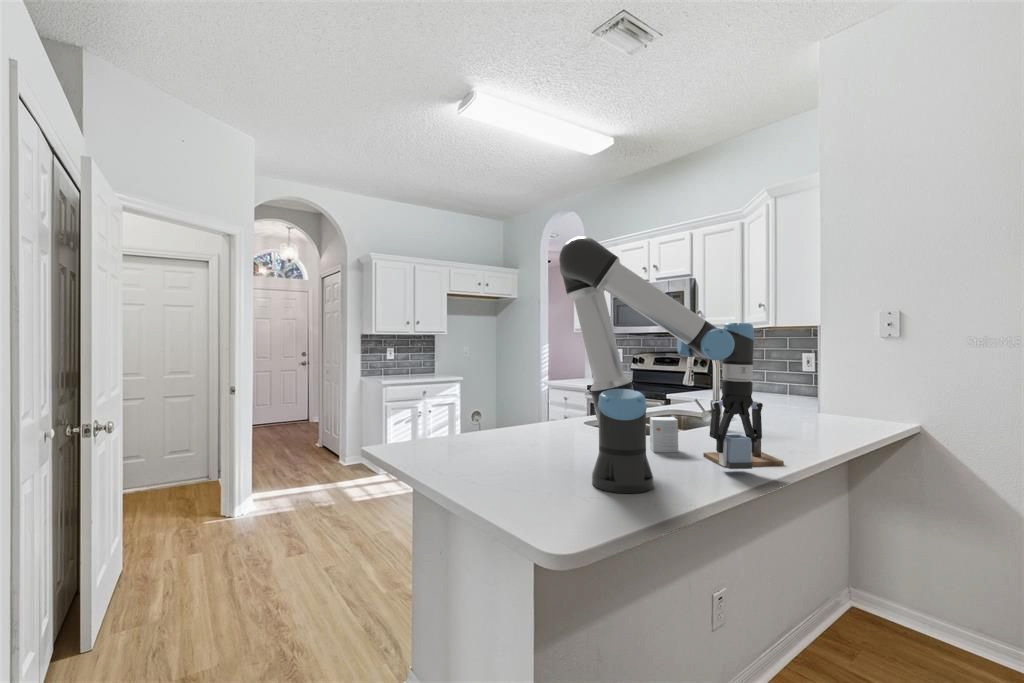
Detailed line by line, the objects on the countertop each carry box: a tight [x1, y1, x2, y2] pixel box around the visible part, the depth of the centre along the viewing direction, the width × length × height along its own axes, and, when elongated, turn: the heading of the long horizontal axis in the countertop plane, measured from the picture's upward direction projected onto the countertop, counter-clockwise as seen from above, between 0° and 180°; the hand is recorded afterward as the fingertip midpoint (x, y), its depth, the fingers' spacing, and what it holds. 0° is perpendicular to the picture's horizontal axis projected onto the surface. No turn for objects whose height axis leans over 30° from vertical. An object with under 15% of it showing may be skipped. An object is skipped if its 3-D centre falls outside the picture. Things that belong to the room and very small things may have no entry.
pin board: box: [702, 439, 785, 468], centre depth 146 cm, size 18×12×7 cm, turn 94°
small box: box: [649, 416, 679, 453], centre depth 160 cm, size 8×6×10 cm
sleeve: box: [718, 433, 753, 470], centre depth 134 cm, size 6×6×8 cm
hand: (734, 464), depth 134 cm, fingers closed on sleeve, 6 cm apart
